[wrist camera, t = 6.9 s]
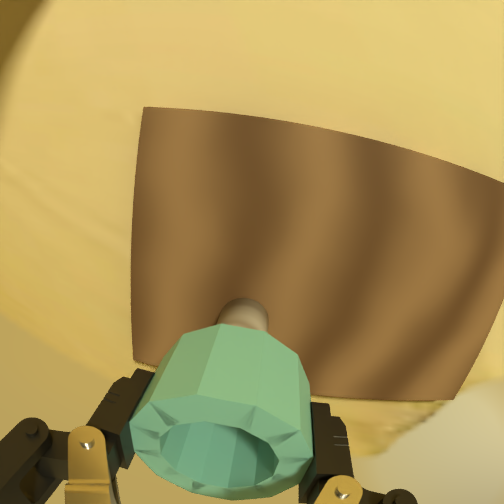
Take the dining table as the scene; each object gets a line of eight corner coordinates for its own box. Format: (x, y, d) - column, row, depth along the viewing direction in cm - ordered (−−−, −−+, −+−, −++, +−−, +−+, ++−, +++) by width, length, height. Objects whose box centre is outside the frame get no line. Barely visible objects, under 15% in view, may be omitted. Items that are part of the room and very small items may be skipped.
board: (141, 348, 22) (85, 435, 13) (154, 109, 17) (58, 88, 8) (446, 388, 21) (487, 468, 12) (520, 192, 16) (613, 225, 7)
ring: (164, 416, 14) (138, 478, 10) (163, 311, 12) (121, 374, 8) (289, 439, 14) (287, 506, 10) (323, 339, 12) (335, 414, 8)
